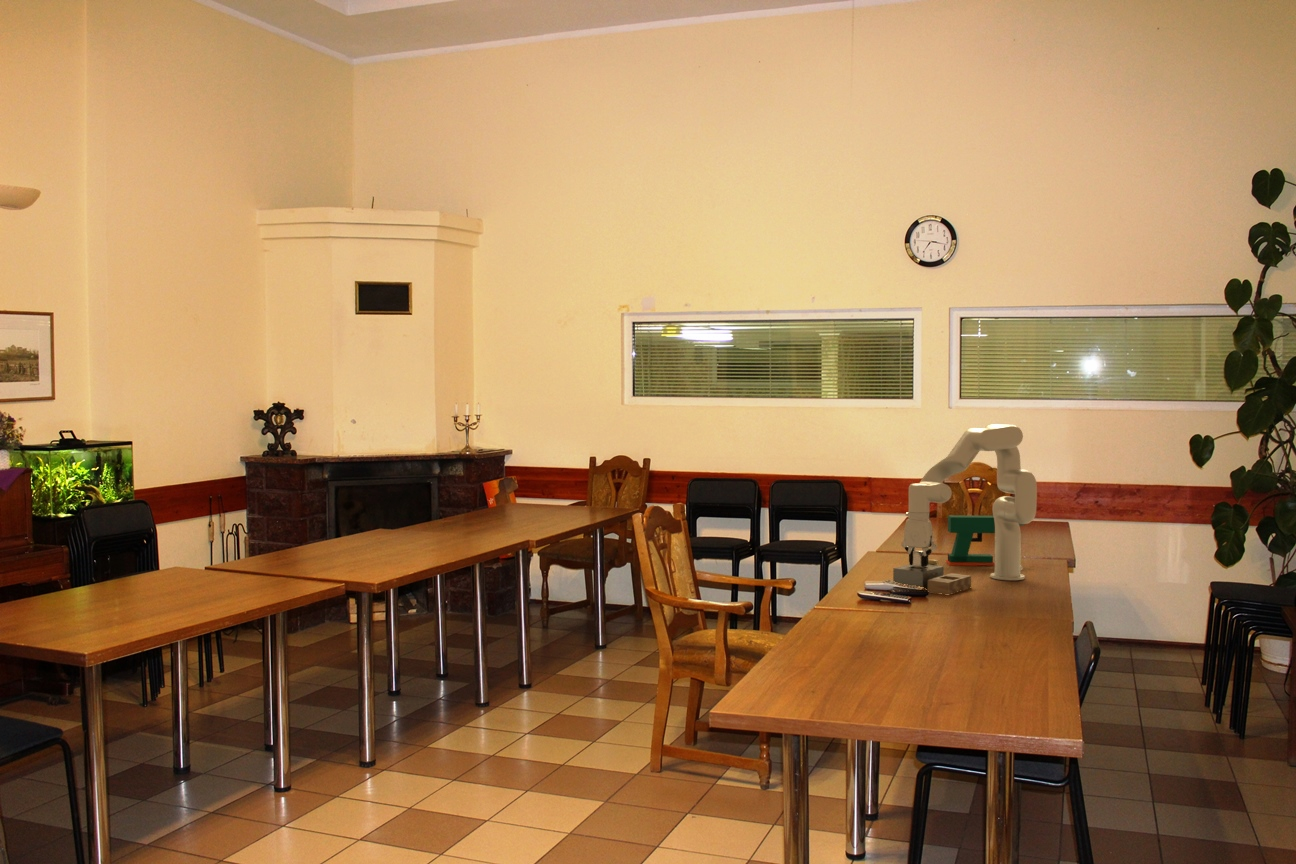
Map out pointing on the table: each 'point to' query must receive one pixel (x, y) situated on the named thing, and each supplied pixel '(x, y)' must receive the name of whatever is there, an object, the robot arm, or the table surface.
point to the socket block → (917, 574)
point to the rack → (949, 583)
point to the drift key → (932, 562)
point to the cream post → (917, 559)
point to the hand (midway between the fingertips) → (918, 564)
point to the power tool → (969, 538)
